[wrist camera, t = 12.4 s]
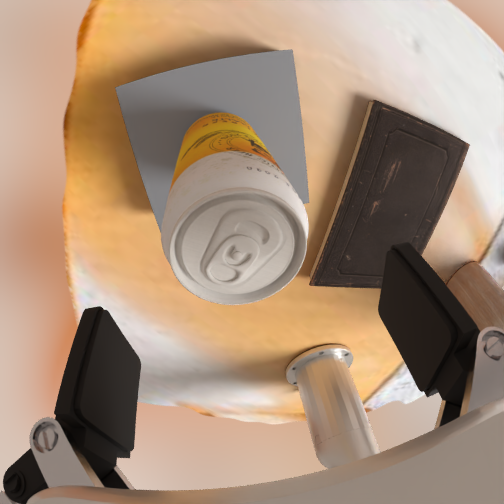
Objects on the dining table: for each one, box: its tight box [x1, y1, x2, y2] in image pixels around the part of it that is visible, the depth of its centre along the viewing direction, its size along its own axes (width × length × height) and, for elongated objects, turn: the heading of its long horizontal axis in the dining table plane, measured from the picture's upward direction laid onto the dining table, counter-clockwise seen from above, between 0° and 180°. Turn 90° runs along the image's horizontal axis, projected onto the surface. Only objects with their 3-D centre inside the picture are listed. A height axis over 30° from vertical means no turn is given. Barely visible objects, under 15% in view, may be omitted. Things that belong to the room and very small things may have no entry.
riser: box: [115, 50, 309, 232], centre depth 25 cm, size 14×14×4 cm
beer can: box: [161, 112, 308, 305], centre depth 18 cm, size 6×6×15 cm
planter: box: [446, 262, 504, 332], centre depth 37 cm, size 10×10×23 cm
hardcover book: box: [309, 100, 470, 288], centre depth 34 cm, size 16×23×2 cm
